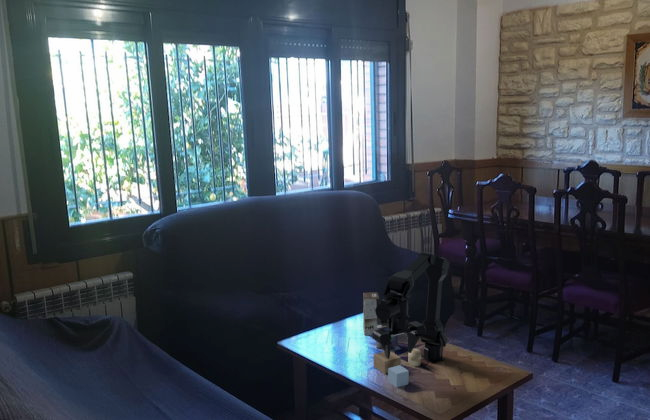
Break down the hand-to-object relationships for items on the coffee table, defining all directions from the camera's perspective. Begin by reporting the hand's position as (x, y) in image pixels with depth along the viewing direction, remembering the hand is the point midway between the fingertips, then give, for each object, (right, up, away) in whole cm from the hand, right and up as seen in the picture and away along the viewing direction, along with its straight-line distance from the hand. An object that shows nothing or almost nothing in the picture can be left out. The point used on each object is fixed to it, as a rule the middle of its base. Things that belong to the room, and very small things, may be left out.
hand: (398, 355), depth 188 cm
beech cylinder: (+8, -7, +16) cm, 19 cm away
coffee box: (-6, -2, +47) cm, 47 cm away
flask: (-1, -5, +32) cm, 32 cm away
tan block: (-3, -8, +13) cm, 15 cm away
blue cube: (0, -10, +2) cm, 10 cm away
